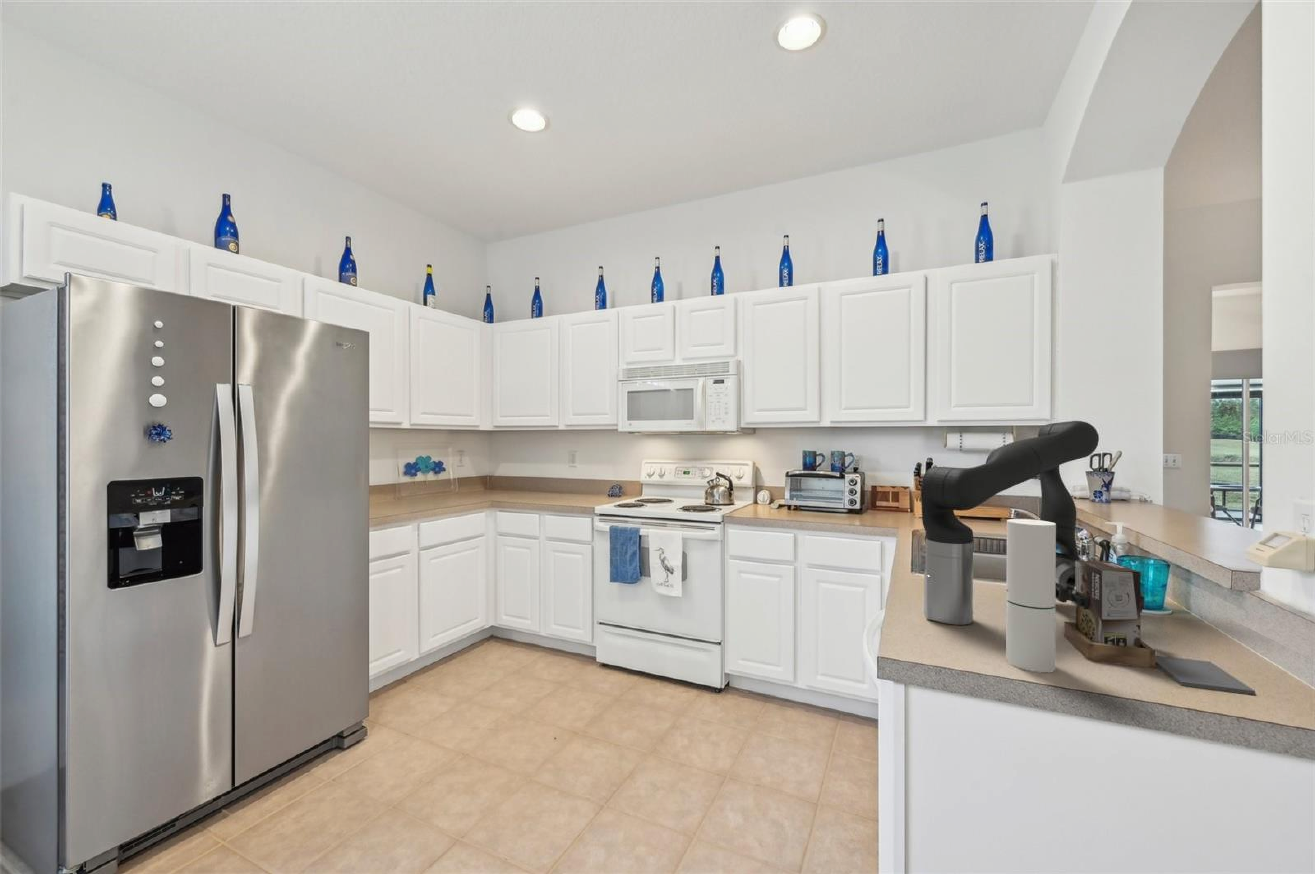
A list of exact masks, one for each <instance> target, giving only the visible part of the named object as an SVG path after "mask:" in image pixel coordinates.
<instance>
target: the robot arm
mask: <svg viewBox="0 0 1315 874" xmlns="http://www.w3.org/2000/svg"><path fill="white" fill-rule="evenodd" d="M1099 440H1100V436H1099V432H1098V431H1097V429H1096V428H1095V427H1094V426H1093V425H1092V424H1091V423H1089V422H1086V421H1082V420H1070V421H1061V422H1060V421H1059V422H1053V423H1052V422H1051V423H1047V424H1044V425H1042V426H1041V428H1039V431H1038V434H1037V437H1029V438H1024V439H1021V440H1020V439H1019V440H1016V441H1013V442H1012V441H1011V442H1009V443H1007V444H1005V445H1002V446H1000V447H997V448H995V449H994V450H992V451H991V453H989V455H988V456H987V458H986V460H985V463H984V464H981V465H977V466H973V467H951V466H950V467H949V466H933V467H930V468H928V469H927V470H926V471H925V473H924V475H923V476H922V479H921V484H920V500H921V501H920V502H921V504H920V505H921V521H922V524H923V525H922V526H923V528H924V531H925V570H924V574H923V575H924V585H923V586H924V587H923V588H924V592H923V593H924V594H923V595H924V600H923V603H924V605H923V607H924V610H923V612H924V615H925V617H926V619H927V620H929V621H930V620H931V621H935V622H938V623H943V624H947V625H948V624H949V625H956V626H957V625H958V626H959V625H960V626H962V625H969V624H973V621H974V616H973V615H974V531H973V529H972V528H971V527H969V525H966V524H965V523H963V522H962V521H960V519H958V517H957V516H956V515H955V511H960V512H961V511H970V510H973V509H974V508H977V507H979V506H980V505H981V504H984V503H985V502H987V501H988V500H989V499H991V498H993V497H994V496H996V495H998V494H999V493H1001V492H1003V491H1006V490H1008V489H1010V488H1013V487H1015V486H1017V485H1020V484H1022V483H1025V482H1026V481H1029V480H1032V479H1033V478H1036V477H1037V476H1039V481H1040V491H1041V508H1040V519H1039V520H1041V521H1048V522H1053V523H1055V524H1056V546H1057V547H1058V548H1059V550H1060V552H1057V551H1056V587H1055V600H1057V601H1058V602H1061V603H1067V601H1070V603H1071V604H1073V605H1075V606H1076V605H1078V606H1080V607H1082V608H1083V609H1089V599H1088V597H1086V596H1085V595H1084V594H1082V593H1079V591H1078V590H1076V588H1075V560H1076V561H1081V558H1080V555H1079V552H1078V547H1077V541H1076V527H1077V507H1076V503H1075V501H1074V499H1073V497H1072V496H1071V493H1070V492H1069V490H1068V489H1067V487H1066V485H1065V483H1064V481H1063V479H1062V477H1061V472H1060V466H1061V465H1063V464H1066V463H1068V462H1072V461H1073V462H1074V461H1076V460H1079V459H1080V460H1081V459H1084V458H1087V457H1089V456H1091V455H1092V454H1093V453H1094V452H1095V451H1096V450H1097V448H1098V445H1099V442H1100V441H1099ZM1145 598H1146V596H1145V595H1143V594H1142V593H1141V609H1140V613H1143V610H1145V609H1146V606H1145Z"/></svg>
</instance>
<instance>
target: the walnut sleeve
mask: <svg viewBox="0 0 1315 874" xmlns="http://www.w3.org/2000/svg"><path fill="white" fill-rule="evenodd" d="M1063 624H1064V625H1063V626H1064V629H1063V631H1064V633H1063V635H1064V637H1065V639H1066V640H1067V641H1069V642H1070V643H1071V645H1073V647H1074V648H1075V649H1076V650H1077V651H1079V653H1080V654H1081V655H1083V657H1085V659H1086V660H1087V661H1093V662H1101V663H1108V664H1109V663H1110V664H1116V665H1117V664H1118V665H1125V666H1132V667H1134V666H1135V667H1141V668H1142V667H1143V668H1150V669H1156V665H1155V658H1156V655H1157V654H1156V650H1155V649H1153V648H1152V647H1150V646H1149V645H1148V644H1147V643H1145V642H1144V641H1142V640H1141V639H1140V648H1137V647H1128V646H1119V645H1110V644H1101V643H1092V642H1091V641H1090V640H1089V639H1088V638H1086V637H1085V636H1084V635H1083V634H1082V633H1081V632H1080V631H1079V630H1078V629H1077V628H1076V621H1075V622H1073V621H1066V620H1065V621H1064V623H1063Z"/></svg>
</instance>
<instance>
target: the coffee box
mask: <svg viewBox="0 0 1315 874" xmlns="http://www.w3.org/2000/svg"><path fill="white" fill-rule="evenodd" d="M1141 575H1142V571H1140V570H1136V569H1135V568H1134V569H1133V568H1131V567H1127V566H1125V565H1123V564H1119V563H1116V562H1113V561H1110V560H1080V561H1076V560H1075V588H1076V590H1078V591H1079V593H1082V594H1084V595H1085V596H1086V597H1088V599H1089V609H1083V608H1082V607H1080V606H1078V605H1075V622H1076V628H1077V629H1078V630H1079V631H1080V632H1081V633H1082V634H1083V635H1084V636H1085V637H1086V638H1088V639H1089V640H1090V641H1091V642H1092V643H1101V644H1110V645H1119V646H1128V647H1137V648H1140V640H1141V637H1142V636H1141V612H1140V609H1141V594H1142V593H1141V592H1142V591H1141V589H1142V587H1141V585H1142V584H1141V583H1142V582H1141V580H1142V579H1141Z"/></svg>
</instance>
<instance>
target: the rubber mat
mask: <svg viewBox="0 0 1315 874" xmlns="http://www.w3.org/2000/svg"><path fill="white" fill-rule="evenodd" d="M1155 667H1157V668H1159V669H1160V670H1161V671H1163V673H1165V674H1166V675H1167V676H1169V677H1170V678H1172V679H1173V680H1174V681H1175V682H1176V683H1178V684H1179V685H1180V686H1182V687H1183V686H1184V687H1190V688H1191V687H1192V688H1198V689H1205V688H1207V689H1208V690H1213V689H1214V691H1222V692H1229V693H1230V692H1231V693H1237V694H1244V693H1246V695H1252V694H1253V695H1252V696H1255V695H1256V690H1254V688H1253V689H1252V688H1251V687H1250V686H1248V685H1246V684H1245V683H1243V682H1242V681H1240V680H1239V679H1238V678H1236V677H1235V676H1233V675H1231V674H1230V673H1228V672H1227V671H1225V670H1223V668H1221V667H1219V666H1218V665H1216V664H1215V663H1213V662H1211V661H1208V660H1199V659H1192V658H1191V659H1190V658H1182V657H1174V656H1173V657H1172V656H1165V655H1157V654H1156V658H1155ZM1207 689H1206V690H1207Z"/></svg>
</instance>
